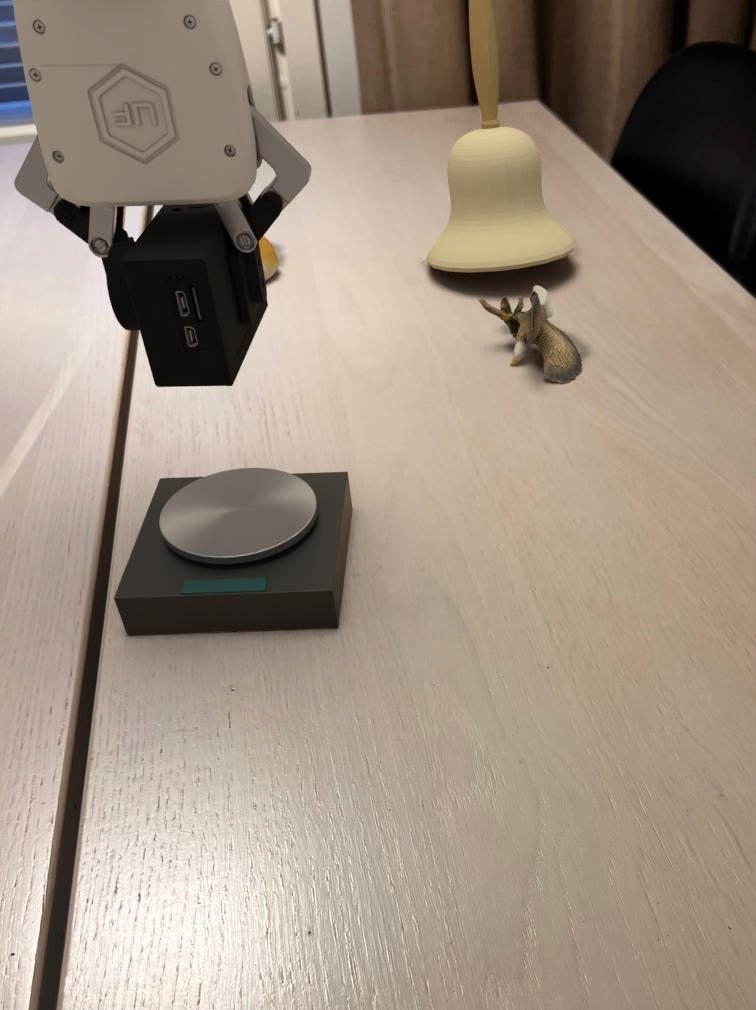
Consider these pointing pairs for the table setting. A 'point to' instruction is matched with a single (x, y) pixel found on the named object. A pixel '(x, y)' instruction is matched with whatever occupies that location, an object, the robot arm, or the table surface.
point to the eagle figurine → (539, 335)
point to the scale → (239, 575)
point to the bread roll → (268, 258)
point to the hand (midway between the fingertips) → (195, 313)
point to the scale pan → (238, 515)
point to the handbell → (495, 181)
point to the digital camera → (181, 297)
